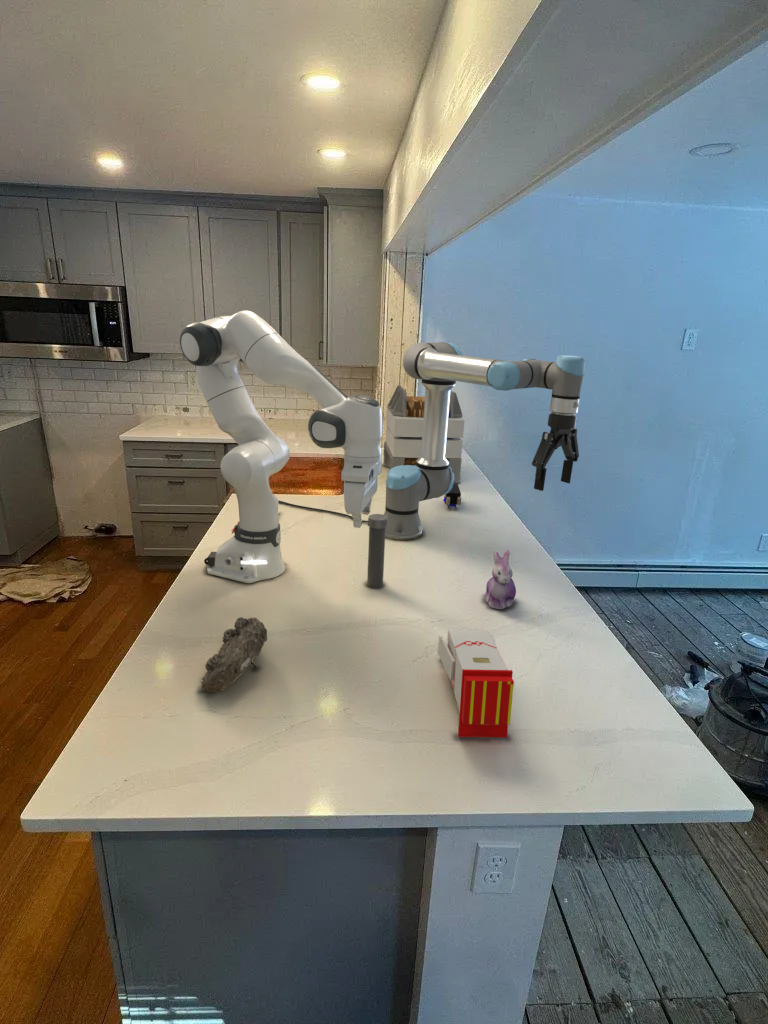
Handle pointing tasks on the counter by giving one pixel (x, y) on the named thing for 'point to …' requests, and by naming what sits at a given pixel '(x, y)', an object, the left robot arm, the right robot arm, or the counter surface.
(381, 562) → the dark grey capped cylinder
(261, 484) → the left robot arm
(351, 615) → the counter surface
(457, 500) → the figurine character
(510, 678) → the toy
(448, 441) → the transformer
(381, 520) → the lid
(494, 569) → the figurine
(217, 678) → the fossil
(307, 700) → the counter surface
